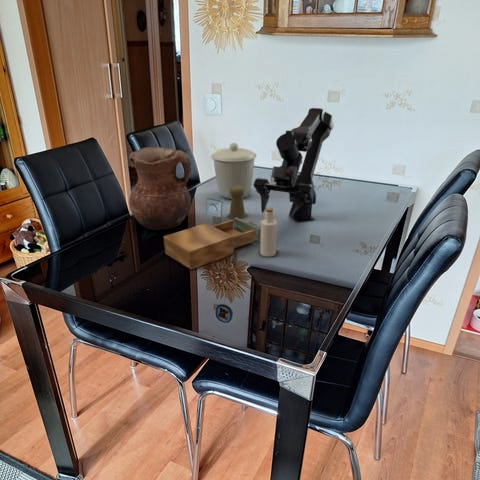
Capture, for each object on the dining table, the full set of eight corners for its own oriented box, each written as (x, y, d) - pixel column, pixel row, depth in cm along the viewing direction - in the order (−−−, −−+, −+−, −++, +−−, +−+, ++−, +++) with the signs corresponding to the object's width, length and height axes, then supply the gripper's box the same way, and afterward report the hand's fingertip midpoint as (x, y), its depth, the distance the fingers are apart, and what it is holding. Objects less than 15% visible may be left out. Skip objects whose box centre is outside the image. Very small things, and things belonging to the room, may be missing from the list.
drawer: (245, 225, 153) (245, 214, 151) (270, 236, 145) (271, 225, 143) (200, 240, 143) (199, 228, 141) (224, 253, 135) (224, 241, 132)
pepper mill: (243, 219, 161) (243, 189, 154) (227, 218, 162) (226, 189, 155) (246, 213, 166) (246, 184, 159) (231, 212, 167) (230, 184, 160)
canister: (263, 193, 185) (264, 141, 174) (241, 205, 173) (240, 150, 161) (228, 186, 194) (227, 136, 182) (204, 197, 181) (201, 144, 169)
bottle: (267, 248, 140) (269, 204, 131) (279, 253, 137) (281, 208, 128) (256, 253, 137) (257, 208, 129) (268, 258, 134) (269, 213, 126)
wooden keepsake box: (207, 239, 146) (206, 223, 142) (233, 253, 137) (233, 236, 133) (165, 253, 137) (163, 236, 134) (190, 269, 128) (189, 251, 125)
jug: (142, 239, 147) (130, 163, 132) (125, 219, 162) (113, 149, 148) (202, 227, 155) (197, 154, 141) (181, 209, 170) (175, 142, 156)
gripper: (255, 151, 133) (240, 197, 131) (314, 157, 126) (299, 206, 124) (265, 170, 143) (251, 214, 141) (319, 177, 136) (306, 222, 134)
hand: (275, 214), depth 135 cm, fingers open, 9 cm apart
